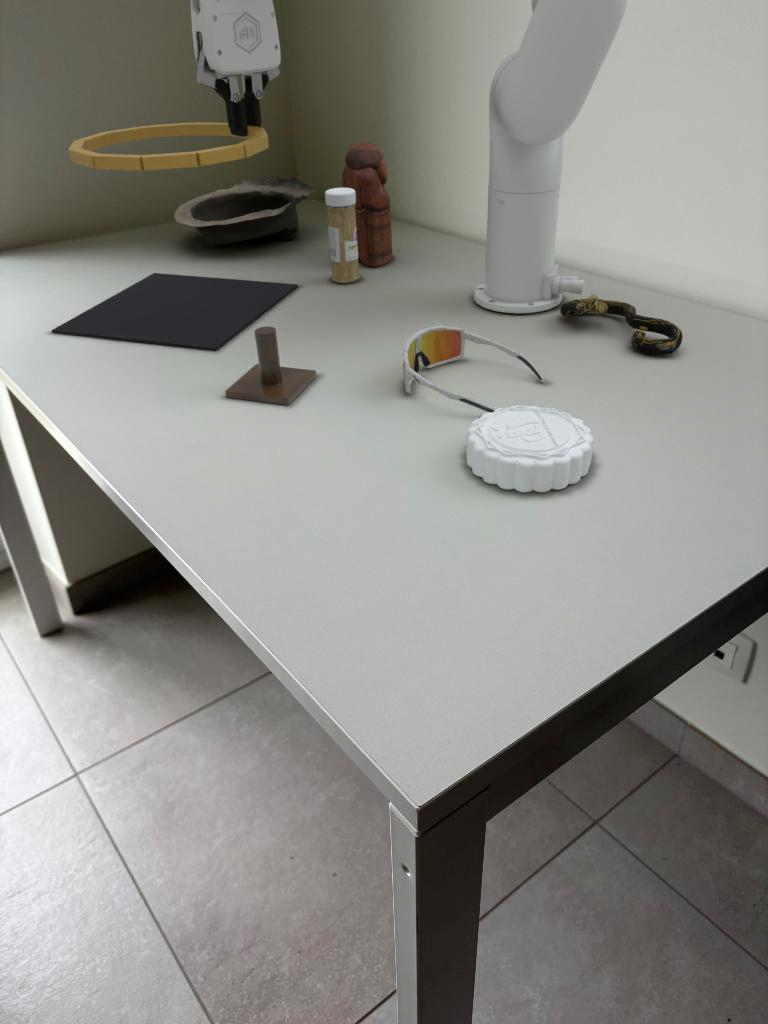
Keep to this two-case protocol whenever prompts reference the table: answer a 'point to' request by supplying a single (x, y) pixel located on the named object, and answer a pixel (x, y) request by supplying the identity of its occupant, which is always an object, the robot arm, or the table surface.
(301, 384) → the wooden peg stand
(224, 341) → the mat
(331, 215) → the sprinkles bottle
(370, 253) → the wooden figurine
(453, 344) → the sunglasses
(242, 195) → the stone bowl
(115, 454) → the table surface
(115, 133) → the ring
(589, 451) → the mooncake
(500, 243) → the robot arm
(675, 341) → the rubber snake
